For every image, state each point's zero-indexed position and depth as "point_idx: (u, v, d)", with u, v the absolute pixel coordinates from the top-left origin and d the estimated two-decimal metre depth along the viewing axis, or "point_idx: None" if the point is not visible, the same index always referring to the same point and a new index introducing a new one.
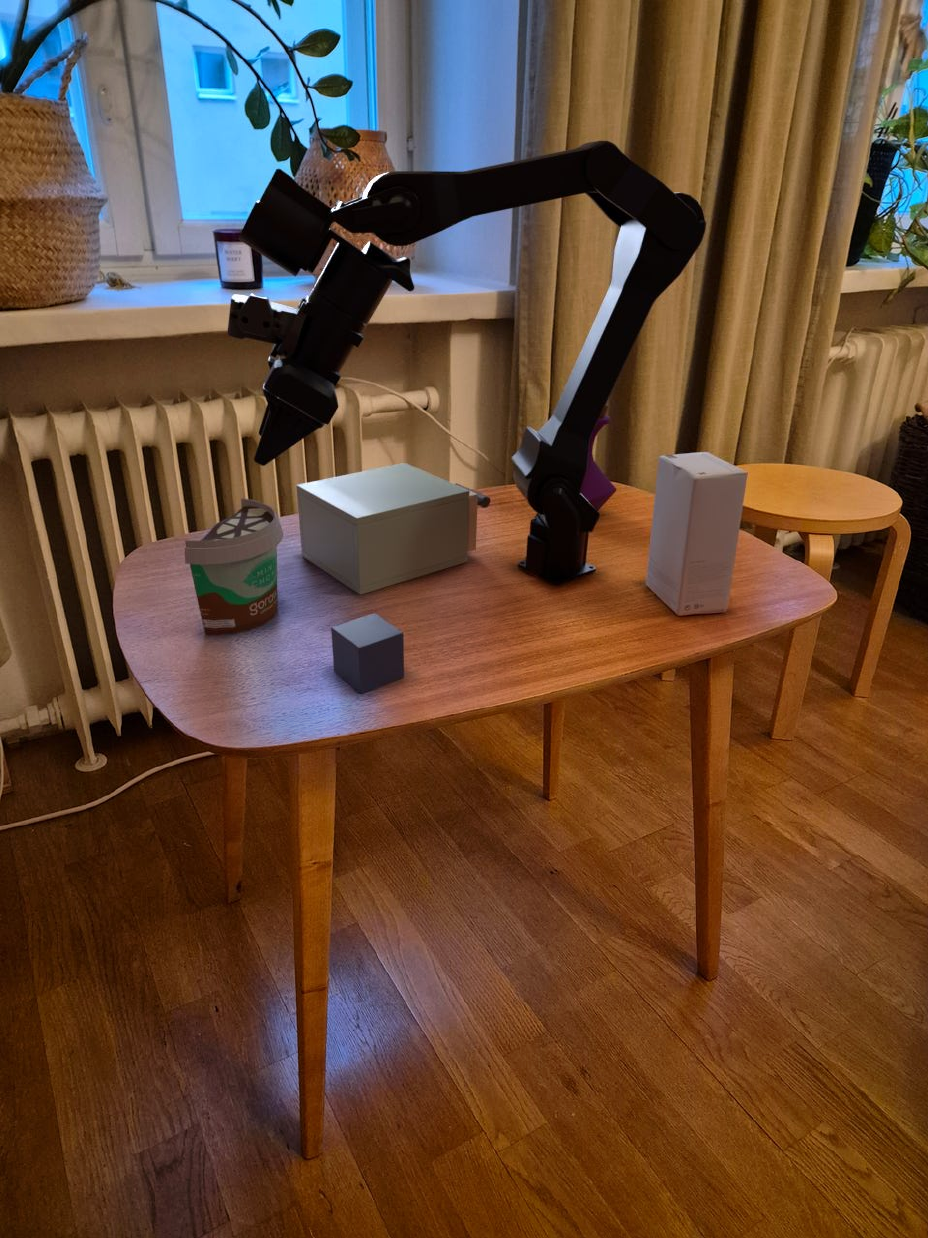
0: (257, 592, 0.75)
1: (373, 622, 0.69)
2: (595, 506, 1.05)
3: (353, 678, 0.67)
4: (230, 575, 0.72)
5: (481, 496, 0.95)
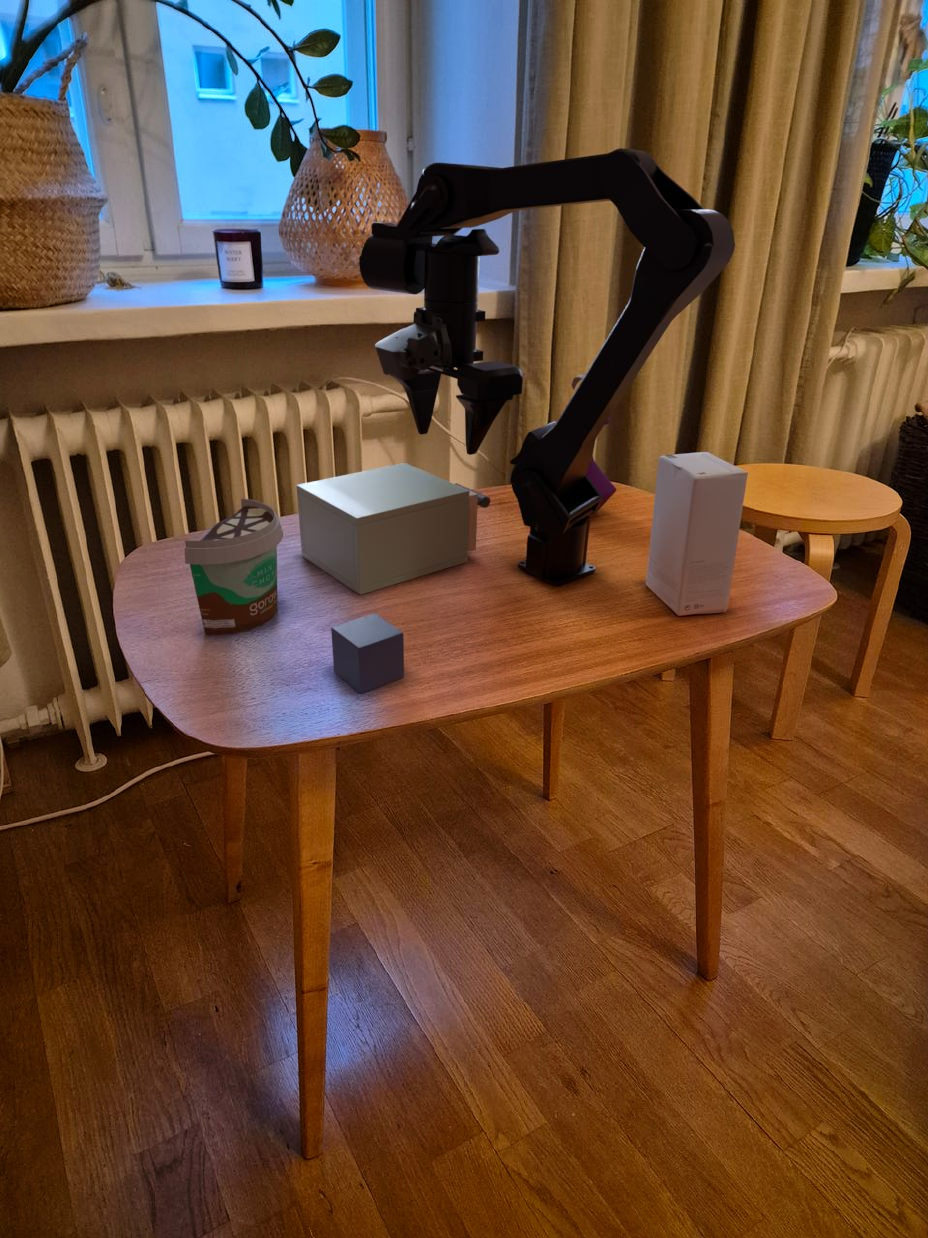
0: (257, 592, 0.75)
1: (373, 622, 0.69)
2: None
3: (353, 678, 0.67)
4: (230, 575, 0.72)
5: (481, 496, 0.95)
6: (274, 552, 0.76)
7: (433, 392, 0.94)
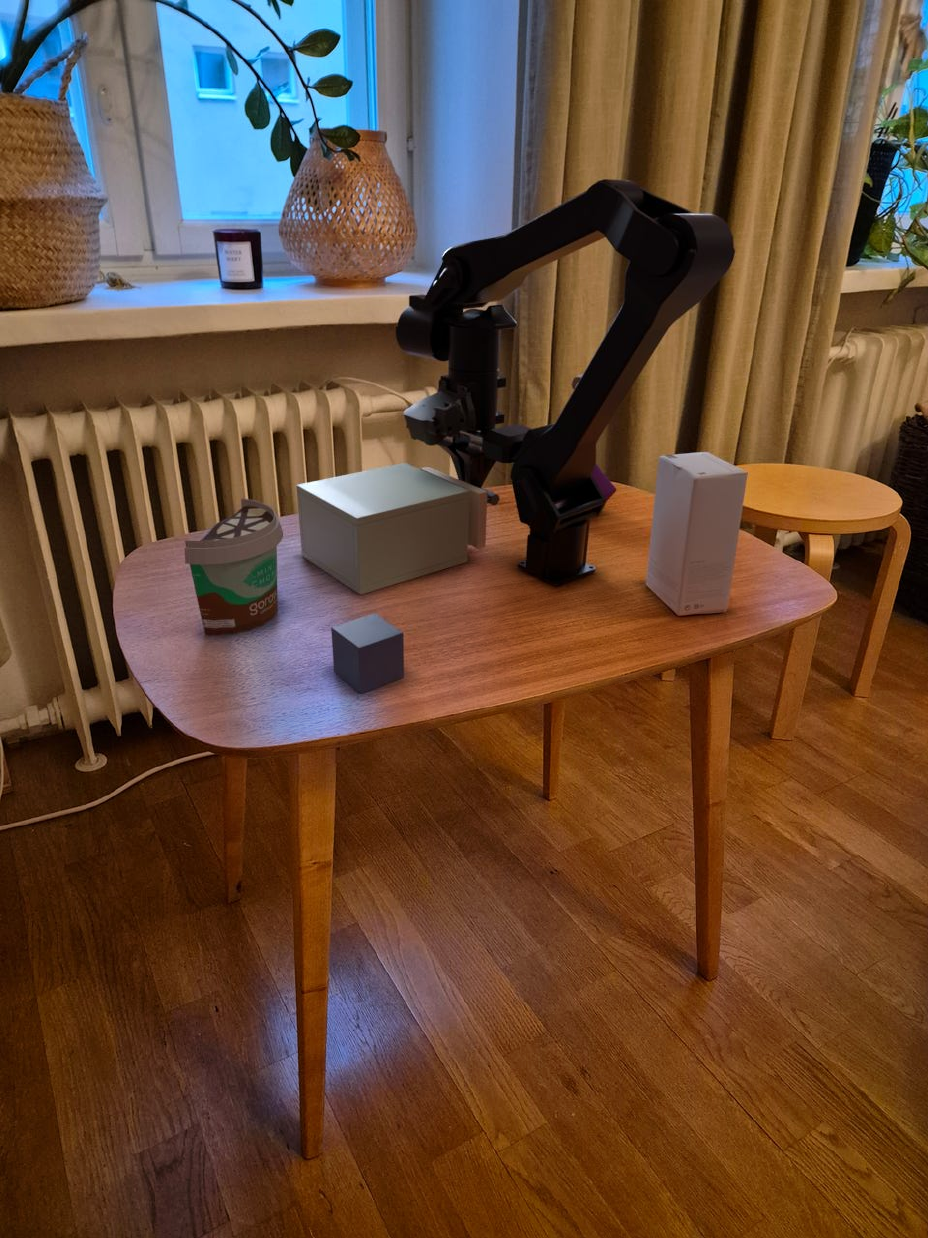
0: (257, 592, 0.75)
1: (373, 622, 0.69)
2: None
3: (353, 678, 0.67)
4: (230, 575, 0.72)
5: (490, 494, 0.95)
6: (274, 552, 0.76)
7: None
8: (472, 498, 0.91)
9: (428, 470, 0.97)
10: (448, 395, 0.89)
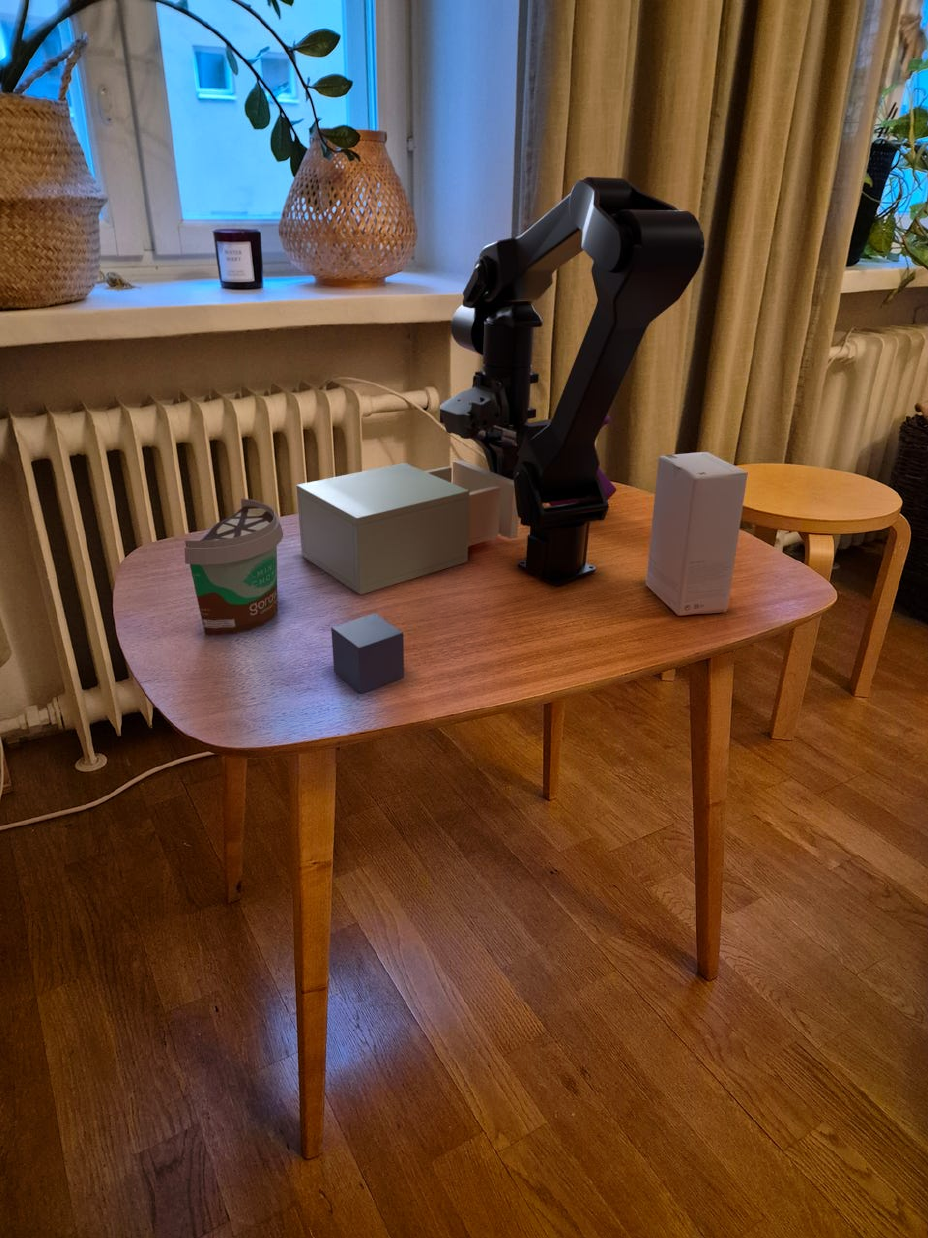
0: (257, 592, 0.75)
1: (373, 622, 0.69)
2: None
3: (353, 678, 0.67)
4: (230, 575, 0.72)
5: None
6: (274, 552, 0.76)
7: None
8: (506, 489, 0.94)
9: (461, 463, 0.99)
10: (483, 390, 0.92)
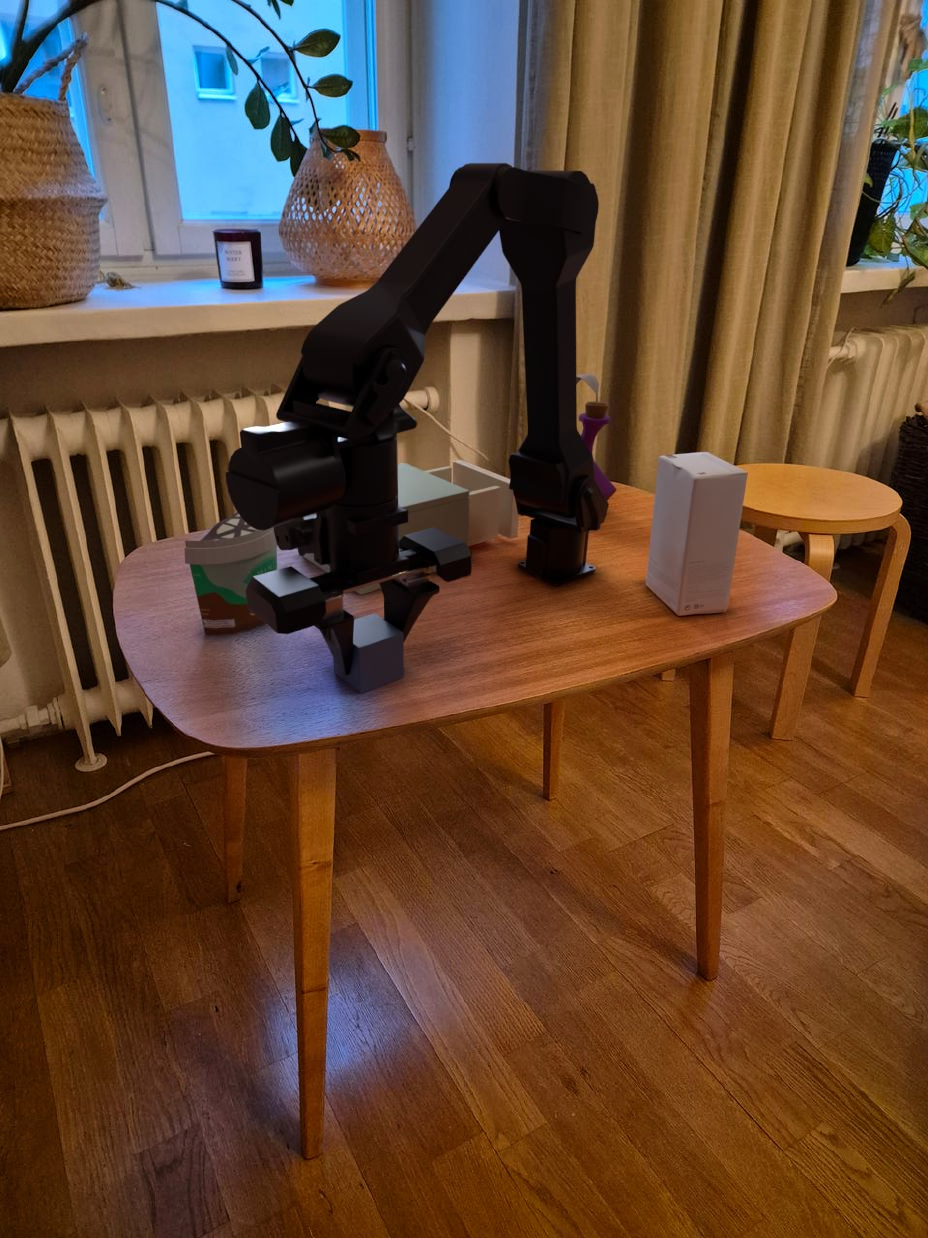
0: None
1: (373, 622, 0.69)
2: None
3: (353, 678, 0.67)
4: (230, 575, 0.72)
5: None
6: (274, 552, 0.76)
7: (402, 615, 0.68)
8: (506, 489, 0.94)
9: (461, 463, 0.99)
10: None
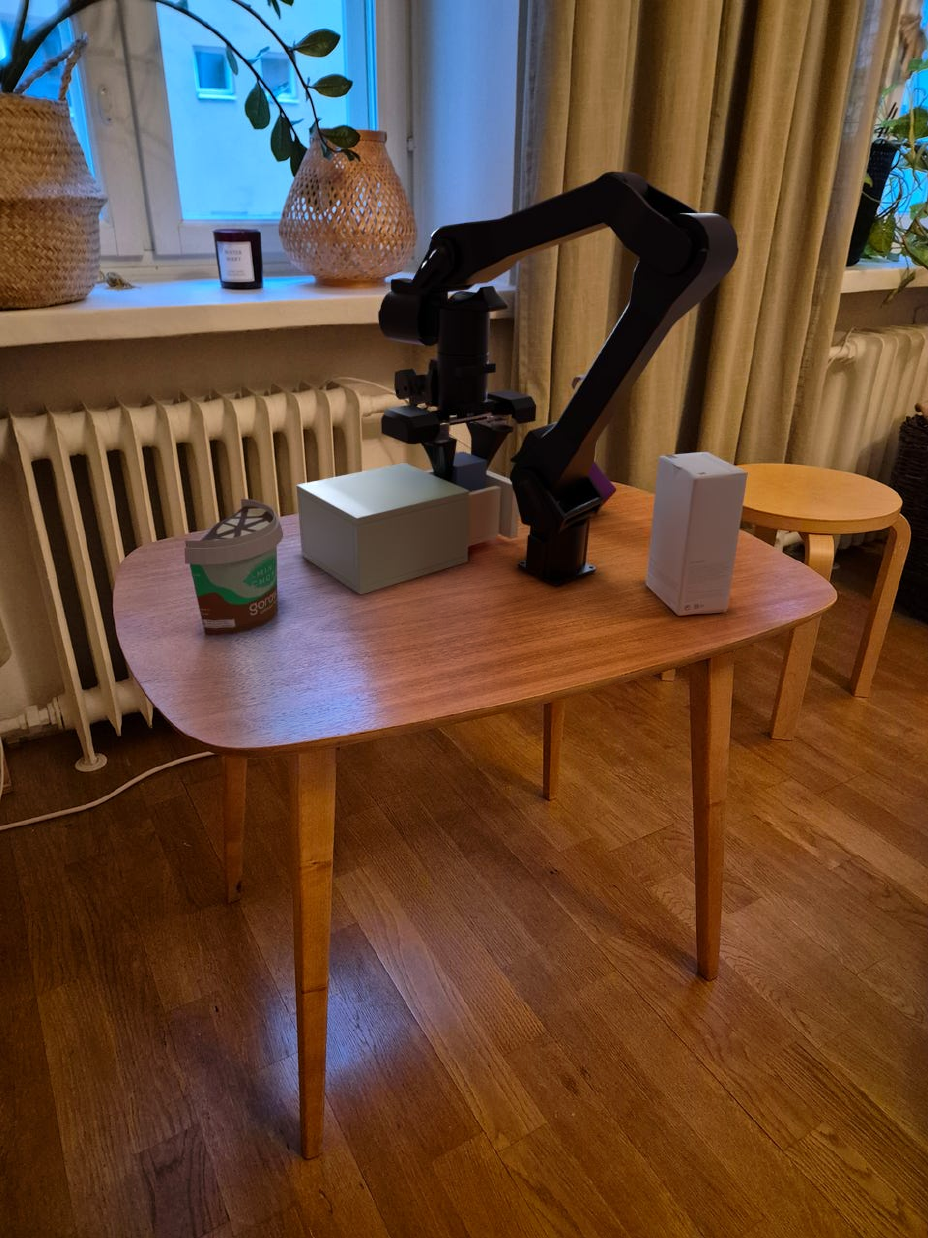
0: (257, 592, 0.75)
1: (463, 455, 0.95)
2: None
3: None
4: (230, 575, 0.72)
5: None
6: (274, 552, 0.76)
7: (486, 448, 0.93)
8: (506, 489, 0.94)
9: None
10: None
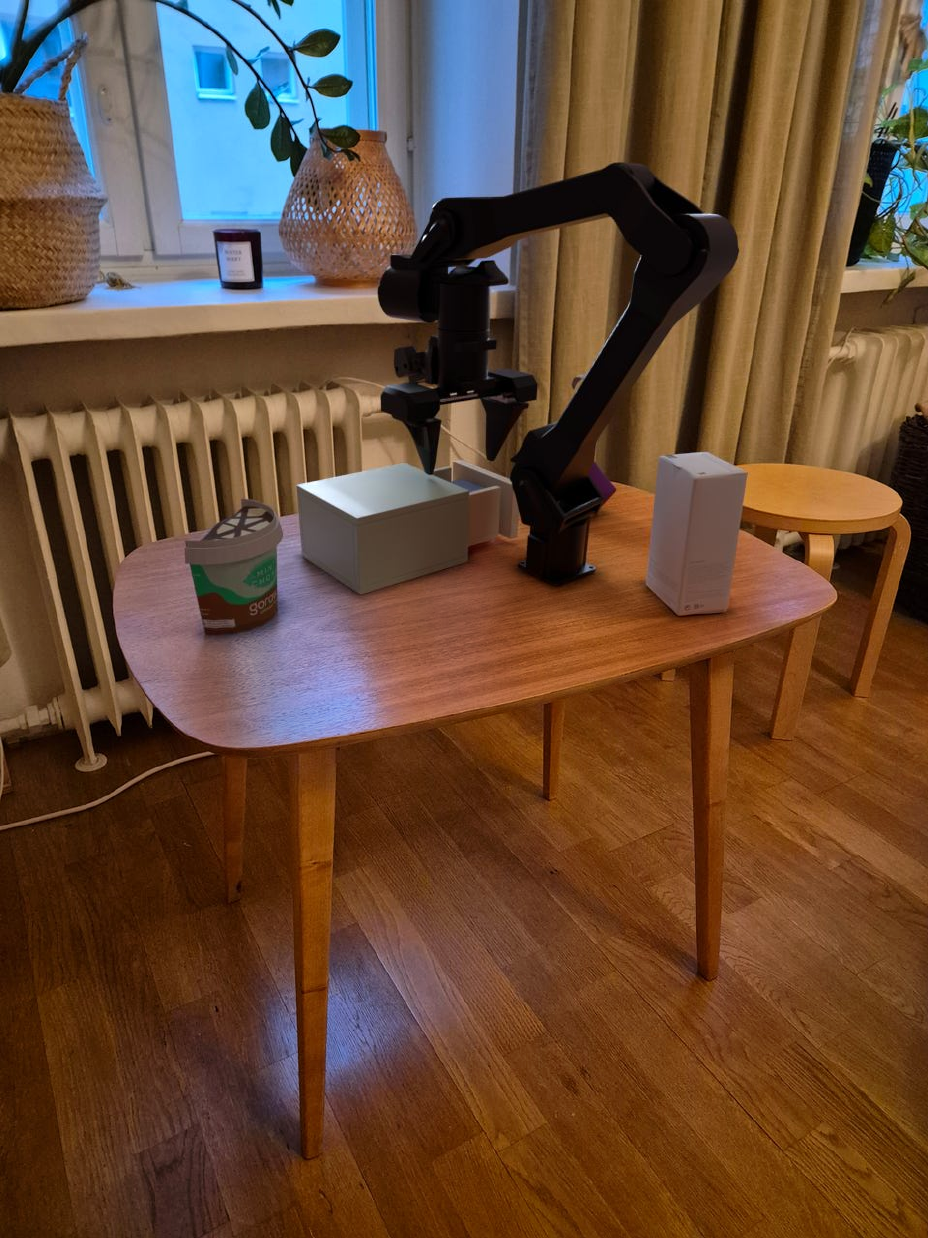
0: (257, 592, 0.75)
1: (463, 483, 0.96)
2: None
3: None
4: (230, 575, 0.72)
5: None
6: (274, 552, 0.76)
7: (502, 424, 0.93)
8: (506, 489, 0.94)
9: (461, 463, 0.99)
10: None
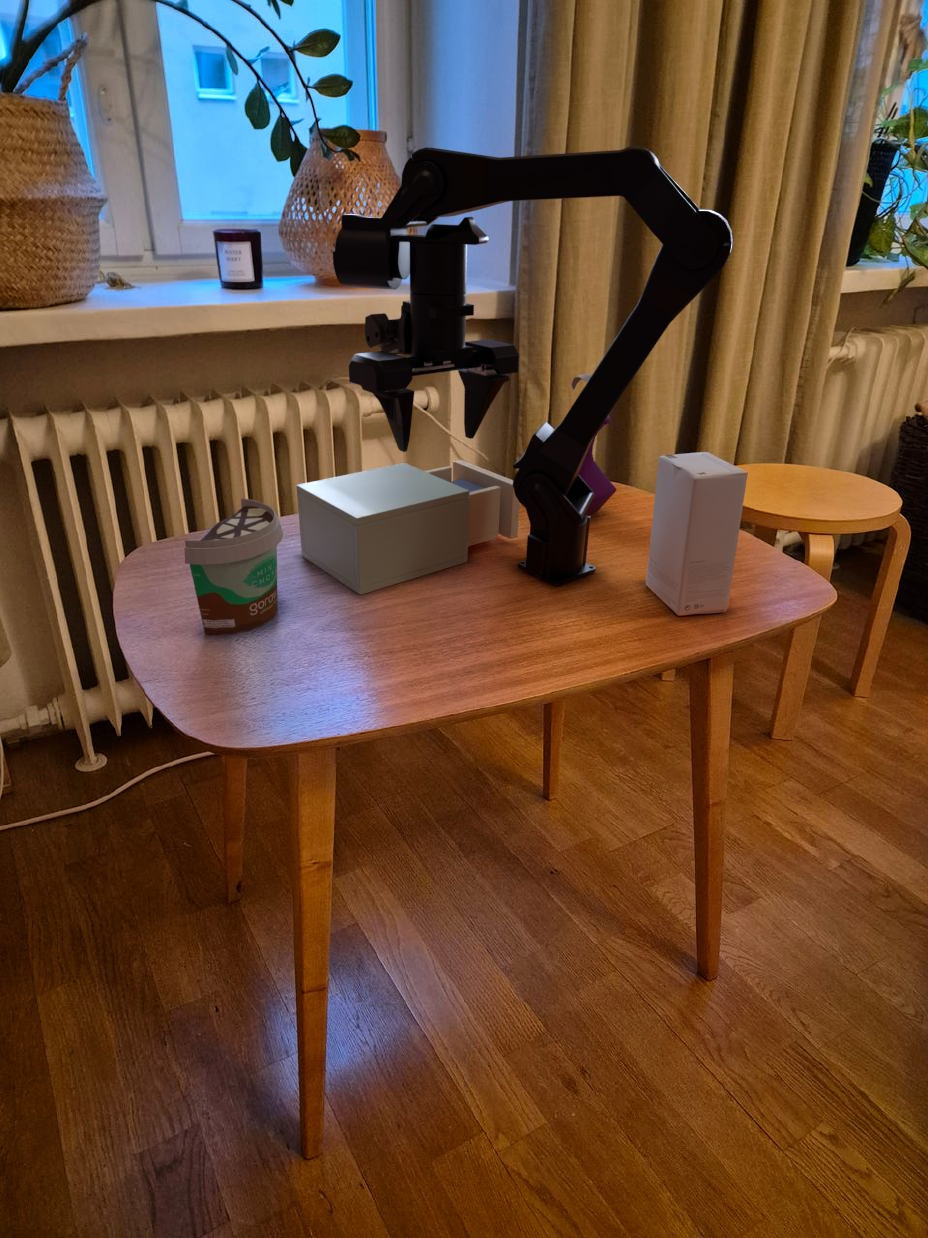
0: (257, 592, 0.75)
1: (463, 483, 0.96)
2: (595, 506, 1.05)
3: None
4: (230, 575, 0.73)
5: None
6: (274, 552, 0.76)
7: (481, 398, 0.87)
8: (506, 489, 0.94)
9: (461, 463, 0.99)
10: None
